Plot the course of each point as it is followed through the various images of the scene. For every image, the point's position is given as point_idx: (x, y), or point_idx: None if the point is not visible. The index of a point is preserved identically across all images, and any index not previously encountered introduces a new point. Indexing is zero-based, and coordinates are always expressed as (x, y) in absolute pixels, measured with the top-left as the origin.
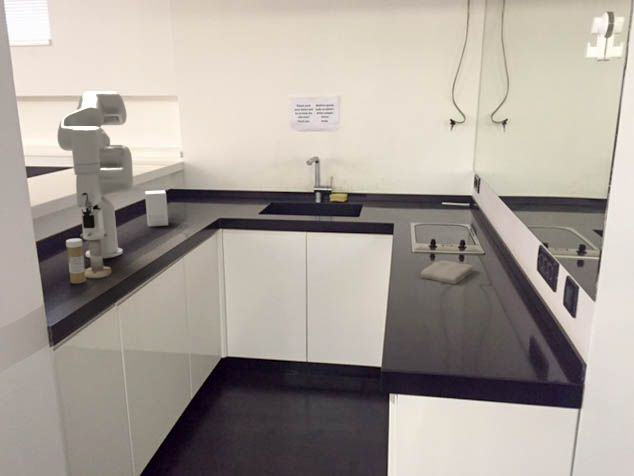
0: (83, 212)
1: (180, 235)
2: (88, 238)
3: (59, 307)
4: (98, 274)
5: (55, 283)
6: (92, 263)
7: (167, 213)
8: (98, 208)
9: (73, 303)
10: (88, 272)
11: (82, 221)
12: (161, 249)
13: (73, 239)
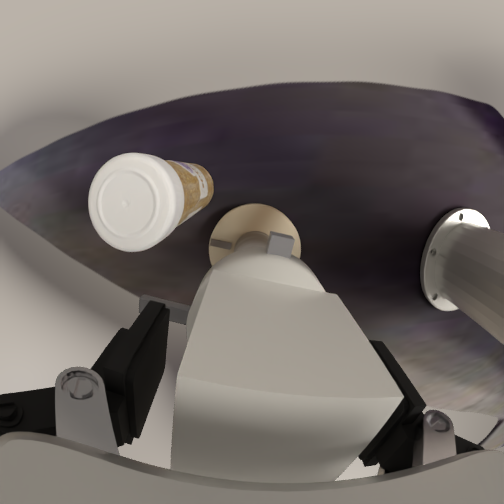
0: (20, 398)
1: (477, 397)
2: (200, 284)
3: (21, 176)
4: (209, 254)
5: (195, 117)
6: (239, 245)
7: None
8: (383, 468)
9: (32, 202)
10: (231, 221)
11: (199, 315)
12: (419, 388)
13: (139, 199)
